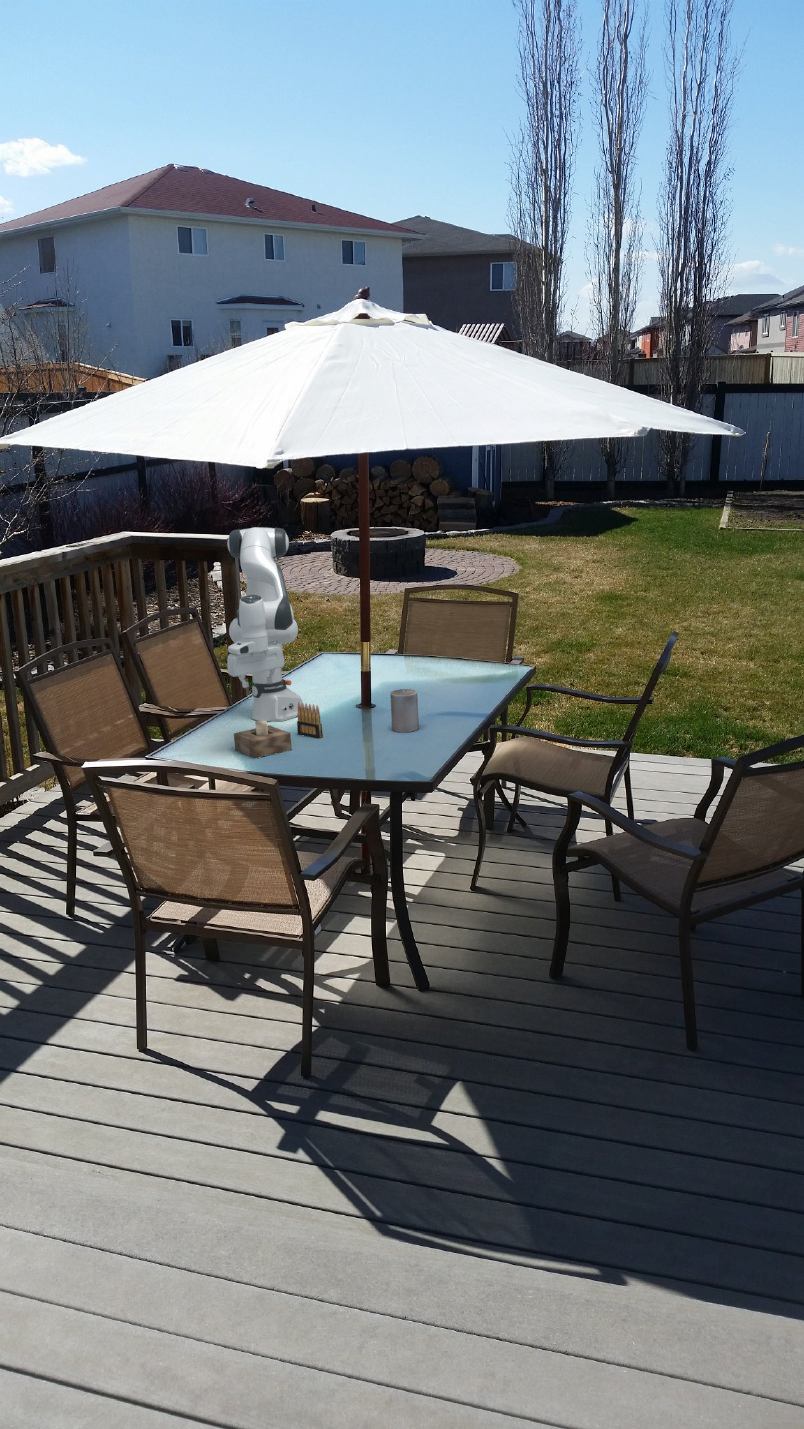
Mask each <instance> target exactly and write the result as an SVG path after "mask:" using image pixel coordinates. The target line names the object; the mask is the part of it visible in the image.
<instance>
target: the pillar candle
mask: <svg viewBox="0 0 804 1429" xmlns="http://www.w3.org/2000/svg"><path fill="white" fill-rule="evenodd" d="M418 702H419V701H418V691H417V690H415V689H412V688H402V689H395V690H392V691H390V711H391V712H390V713H391V729H392V731H393V732H395V733H400V734H401V733H402V734H404V733H405V734H406V733H412V732H416V731H418V730H419V729H420V725H419V724H420V722H419V720H420V718H419V703H418Z"/></svg>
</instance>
